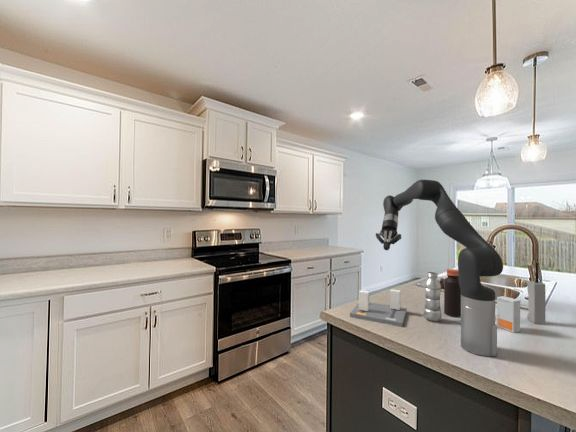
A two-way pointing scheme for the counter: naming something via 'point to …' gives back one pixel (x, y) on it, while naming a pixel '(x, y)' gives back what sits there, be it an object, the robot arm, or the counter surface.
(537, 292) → the vintage mobile phone
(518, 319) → the skincare box
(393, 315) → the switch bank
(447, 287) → the vinegar
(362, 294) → the block
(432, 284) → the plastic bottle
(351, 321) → the counter surface
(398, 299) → the tab inner
